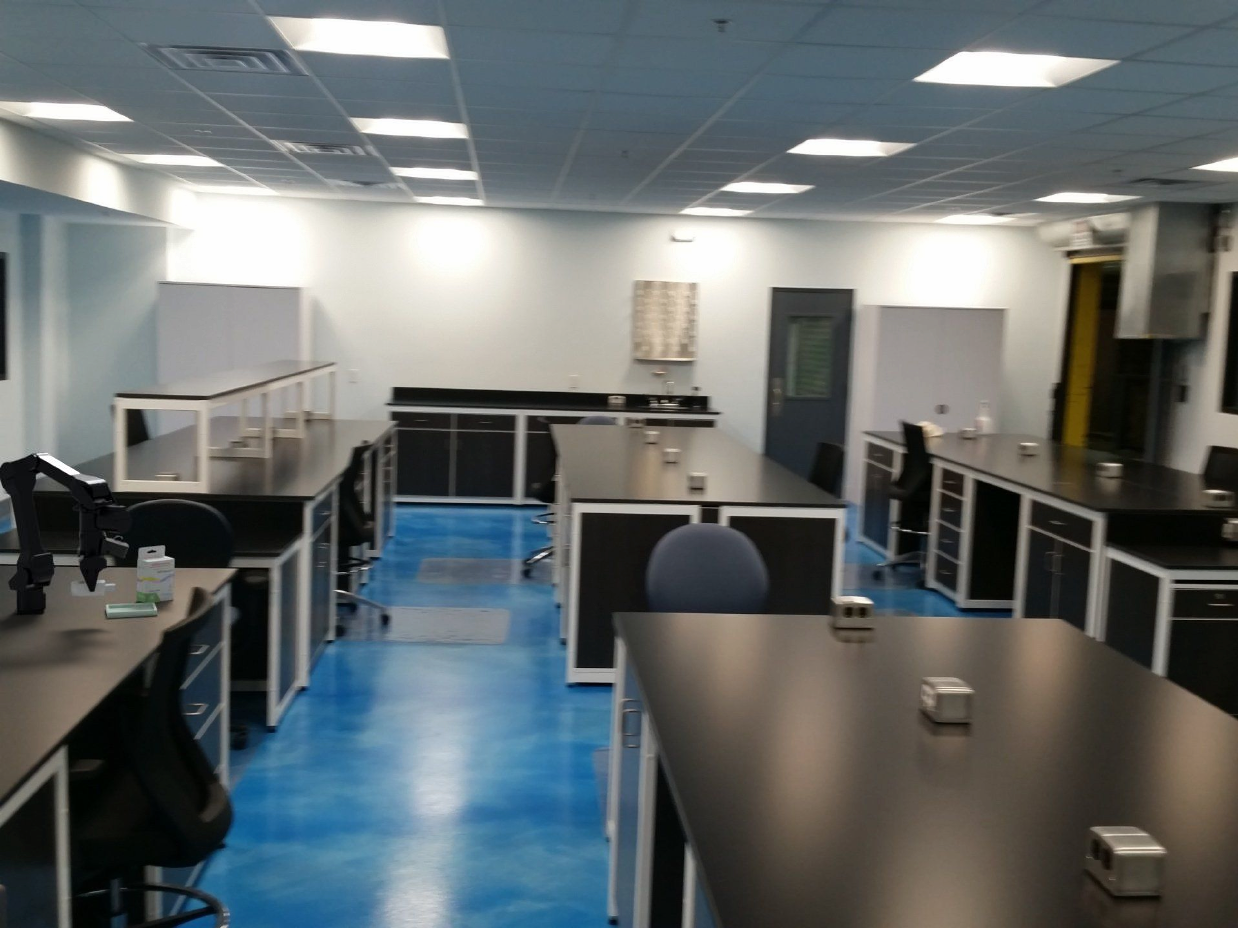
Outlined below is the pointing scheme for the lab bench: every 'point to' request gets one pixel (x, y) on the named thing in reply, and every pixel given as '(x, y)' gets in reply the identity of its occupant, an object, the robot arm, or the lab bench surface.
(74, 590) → the connector
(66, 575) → the lab bench surface
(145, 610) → the tray
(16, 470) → the robot arm
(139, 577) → the ink box
